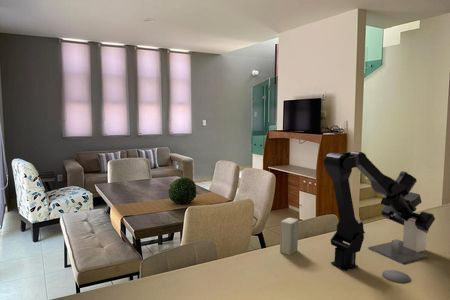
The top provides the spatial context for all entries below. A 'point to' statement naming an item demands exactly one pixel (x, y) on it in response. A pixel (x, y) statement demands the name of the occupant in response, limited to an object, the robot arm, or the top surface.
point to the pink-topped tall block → (413, 236)
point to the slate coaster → (396, 276)
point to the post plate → (397, 252)
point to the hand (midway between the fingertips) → (416, 228)
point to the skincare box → (289, 236)
